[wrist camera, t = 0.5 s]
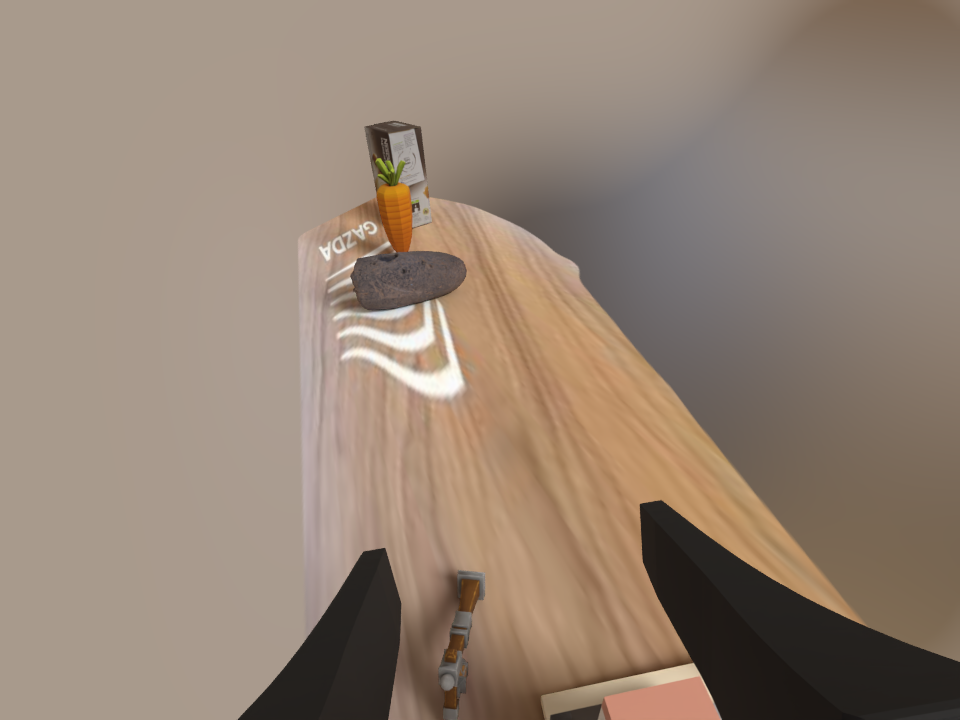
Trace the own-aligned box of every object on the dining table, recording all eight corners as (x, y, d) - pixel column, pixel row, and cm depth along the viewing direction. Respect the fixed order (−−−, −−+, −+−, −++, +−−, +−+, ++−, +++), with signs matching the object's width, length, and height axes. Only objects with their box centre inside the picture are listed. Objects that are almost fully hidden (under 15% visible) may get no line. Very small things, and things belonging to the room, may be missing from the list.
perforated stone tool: (463, 282, 67) (459, 235, 63) (473, 299, 63) (470, 249, 59) (356, 302, 64) (345, 254, 60) (360, 321, 60) (348, 271, 56)
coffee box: (433, 222, 87) (423, 126, 77) (403, 231, 84) (388, 132, 74) (408, 210, 93) (395, 119, 83) (379, 218, 90) (362, 125, 80)
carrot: (424, 253, 76) (412, 153, 67) (409, 266, 72) (394, 163, 63) (398, 250, 77) (382, 152, 68) (381, 262, 74) (362, 161, 65)
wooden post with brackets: (429, 745, 24) (427, 671, 23) (458, 626, 32) (457, 567, 31) (464, 750, 24) (463, 676, 23) (484, 629, 32) (485, 569, 31)
